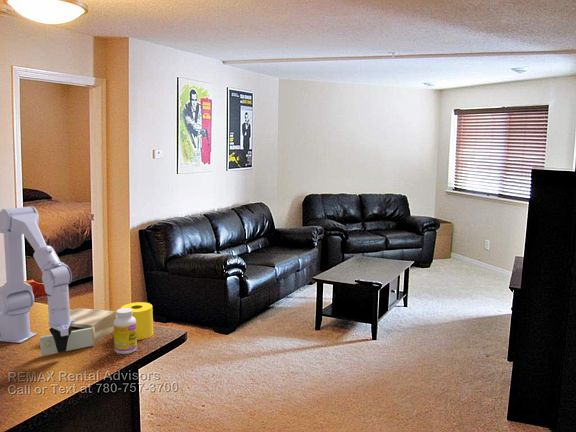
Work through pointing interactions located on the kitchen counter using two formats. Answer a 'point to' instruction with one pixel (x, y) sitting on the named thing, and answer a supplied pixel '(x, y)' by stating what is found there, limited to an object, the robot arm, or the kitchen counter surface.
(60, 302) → the robot arm
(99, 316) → the cabinet
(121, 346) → the supplement bottle
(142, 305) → the yellow toilet paper roll
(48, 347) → the door
